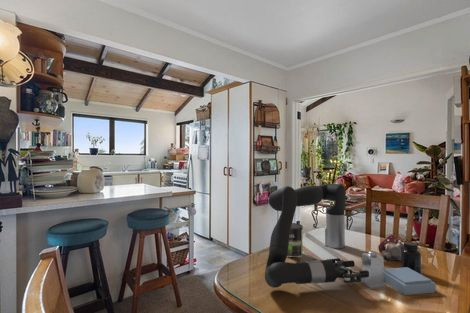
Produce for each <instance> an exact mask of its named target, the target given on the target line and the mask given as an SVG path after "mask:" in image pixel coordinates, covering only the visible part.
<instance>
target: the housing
mask: <svg viewBox="0 0 470 313" xmlns="http://www.w3.org/2000/svg"><path fill="white" fill-rule="evenodd" d="M361 254H362V255H361V261H362V262H361V263H362V264H361V266H362V268H361V269H362V270H361V271H363V270H367V271H369V277H365V278H361V282H360V283H362V284H364V285H365V286H366V287H367V288H369V289H370V290H378V289H386V285H385V281H384V269H385V268H384V267H385V266H384V264H385V263H384V262H385V261H384V259H385V257H384V256H383V255H381V254H378V252H377V251H374V250H368V252H362V253H361ZM380 255H381V256H380ZM382 256H383V257H382Z"/></svg>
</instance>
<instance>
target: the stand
mask: <svg viewBox="0 0 470 313" xmlns="http://www.w3.org/2000/svg"><path fill="white" fill-rule="evenodd" d="M384 283H386V284H388V285H389V286H391V287H392V288H393V289H395V290H396V291H398V292H400V293H401V294H402V295H404V296H407V295H408V296H409V295H419V294H420V295H421V294H422V295H423V294H430V293H431V294H432V293H436V282H434V281H432V279H431V278H428V277H426V276H425V275H423V274H419V273H417V272H415V271H414V270H412V269H410V268H408V267H404V268H402V267H394V268H384Z"/></svg>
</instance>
